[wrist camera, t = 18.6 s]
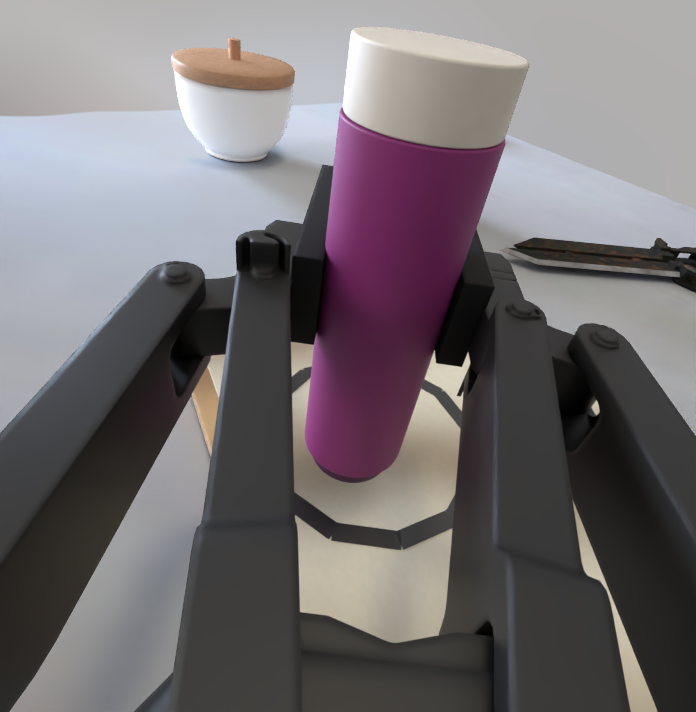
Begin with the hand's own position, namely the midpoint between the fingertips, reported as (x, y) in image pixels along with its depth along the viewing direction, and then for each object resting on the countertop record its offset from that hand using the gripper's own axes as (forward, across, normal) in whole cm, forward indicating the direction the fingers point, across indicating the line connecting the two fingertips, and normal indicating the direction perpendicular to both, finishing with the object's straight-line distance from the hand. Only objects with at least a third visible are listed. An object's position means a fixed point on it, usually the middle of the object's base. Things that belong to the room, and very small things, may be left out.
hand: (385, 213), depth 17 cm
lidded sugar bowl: (+31, -14, -10) cm, 35 cm away
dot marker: (-5, 0, -7) cm, 9 cm away
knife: (+19, +23, -10) cm, 31 cm away
